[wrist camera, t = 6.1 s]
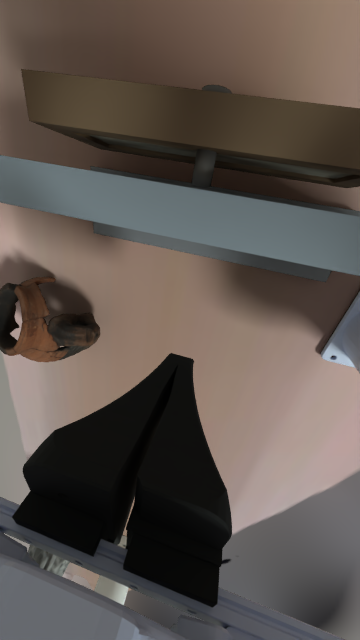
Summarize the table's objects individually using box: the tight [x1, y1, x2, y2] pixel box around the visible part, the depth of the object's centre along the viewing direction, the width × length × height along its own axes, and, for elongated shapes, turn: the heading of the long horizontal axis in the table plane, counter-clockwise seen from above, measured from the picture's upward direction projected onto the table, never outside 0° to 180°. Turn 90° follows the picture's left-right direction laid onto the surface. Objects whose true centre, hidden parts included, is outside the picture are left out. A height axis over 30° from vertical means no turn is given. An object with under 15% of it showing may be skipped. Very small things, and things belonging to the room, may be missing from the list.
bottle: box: [94, 535, 129, 605], centre depth 50 cm, size 8×8×28 cm
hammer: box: [28, 545, 70, 577], centre depth 51 cm, size 15×10×30 cm
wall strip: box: [0, 155, 360, 282], centre depth 14 cm, size 20×5×10 cm, turn 81°
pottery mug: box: [0, 277, 100, 362], centre depth 24 cm, size 12×10×8 cm
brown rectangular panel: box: [21, 69, 360, 188], centre depth 11 cm, size 16×3×6 cm, turn 81°
